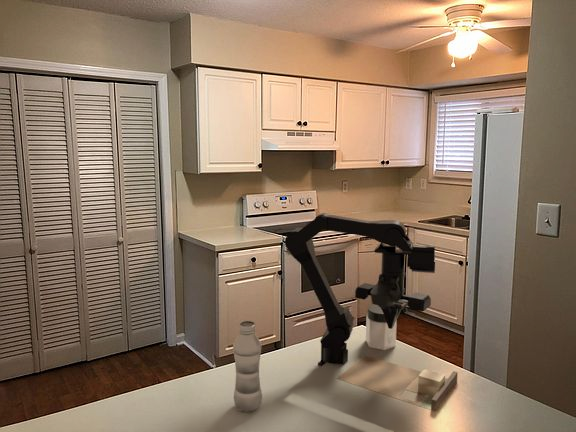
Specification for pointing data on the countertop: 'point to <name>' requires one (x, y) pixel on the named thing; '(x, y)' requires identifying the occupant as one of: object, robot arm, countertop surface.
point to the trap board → (394, 381)
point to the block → (430, 382)
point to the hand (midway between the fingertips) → (390, 328)
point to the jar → (379, 329)
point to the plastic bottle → (247, 368)
